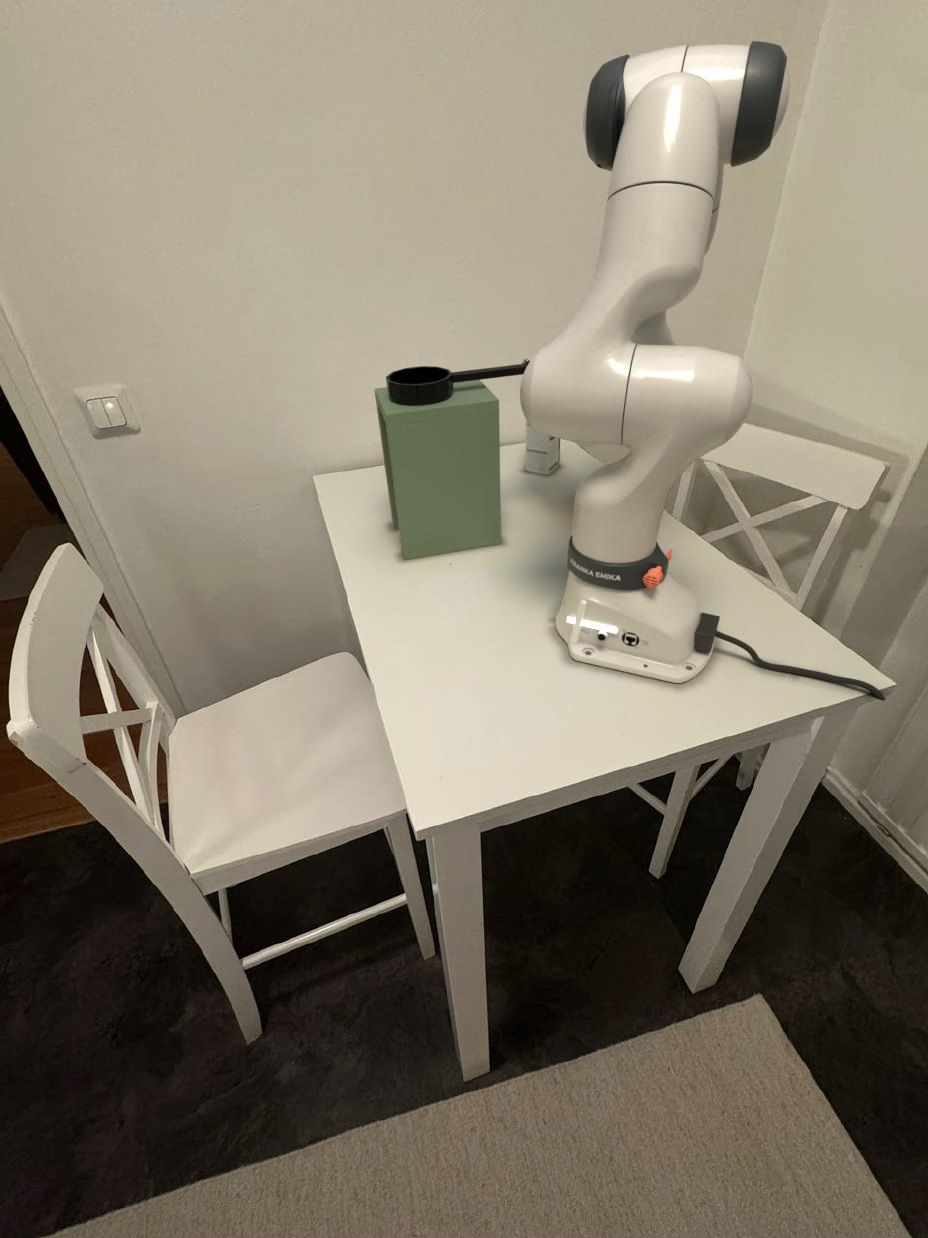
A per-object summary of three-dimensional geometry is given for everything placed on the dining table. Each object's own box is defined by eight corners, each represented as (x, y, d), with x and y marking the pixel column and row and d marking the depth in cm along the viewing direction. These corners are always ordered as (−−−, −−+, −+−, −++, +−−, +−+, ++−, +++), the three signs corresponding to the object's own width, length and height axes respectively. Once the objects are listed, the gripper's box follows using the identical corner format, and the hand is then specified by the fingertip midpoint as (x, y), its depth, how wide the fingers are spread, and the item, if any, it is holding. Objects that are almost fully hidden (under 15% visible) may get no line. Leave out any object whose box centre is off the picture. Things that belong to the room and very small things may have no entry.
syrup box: (548, 475, 133) (550, 409, 124) (524, 470, 135) (525, 405, 127) (559, 466, 136) (562, 401, 128) (536, 461, 139) (538, 397, 130)
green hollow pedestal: (481, 510, 121) (476, 376, 106) (501, 543, 110) (499, 399, 95) (392, 524, 118) (374, 388, 103) (404, 560, 107) (385, 414, 92)
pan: (534, 372, 106) (534, 352, 104) (555, 388, 98) (556, 367, 96) (384, 390, 102) (382, 370, 100) (394, 409, 93) (391, 388, 91)
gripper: (577, 366, 112) (515, 333, 106) (626, 399, 96) (557, 362, 90) (559, 398, 115) (499, 368, 109) (605, 435, 99) (536, 401, 93)
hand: (526, 365), depth 100 cm, fingers closed on pan, 2 cm apart
